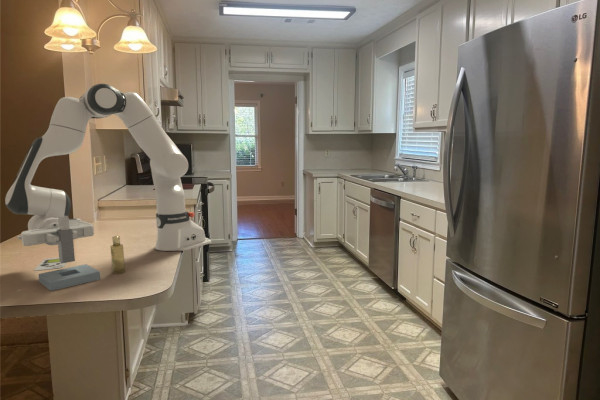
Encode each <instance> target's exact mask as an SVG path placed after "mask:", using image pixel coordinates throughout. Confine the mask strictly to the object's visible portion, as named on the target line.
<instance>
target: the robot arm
mask: <svg viewBox="0 0 600 400" xmlns="http://www.w3.org/2000/svg"><path fill="white" fill-rule="evenodd" d="M112 115H115V116H116V117H118V118H119V119H120V120H121V121H122V122H123V124H124V126H125V127H126V128H127V130H128V132H129V133H130V134H131V136H132V138H133V139H134V140H135V142H136V144H137V145H138V146H139V148H140V149H141V150H142V151H143V152H144V153H145V154H146V156H147V157H148V158H149V166H150V172H151V177H152V182H153V186H154V187H153V188H154V192H155V201H156V202H155V205H156V214H155V222H156V230H157V232H156V241H155V246H154V249H155V250H157V251H162V252H167V251H168V252H171V251H174V252H175V251H180V252H182V251H188V250H192V249H196V248H198V247H199V248H200V247H203V246H205V245H209V244H211V243H212V241H211V239H210V238H208V237H206V234H205V230H204V229H203V227H202V226H200V225H199V224H197V223H196V222H194V221H193V220H191V218H194V217H195V216H196V215H195V212H191V211H190V212H188V211H187V210H186V197H185V191H184V188H183V183H182V179H181V178H182V177H184V176H185V174H186V173H187V172H188V170H189V162H188V159H187V158H186V156H185V155H184V154H183V153H182V151H181V150H180V149H179V148H178V146H177V145H176V144H175V143H174V141H173V140H172V139H171V138H170V136H169V135H168V134H167V133H166V131H165V130H164V129H163V126H162V125H161V123H160V122H159V121H158V118H157V117H156V115H155V114H154V112H153V111H152V110H151V108H150V107H149V105H148V104H147V103H146V102H145V100H144V99H143V98H142V97H141V96H140V95H139V94H138V93H136V92H133V91H128V92H124V93H123V92H122V91H120V90H119V89H117V88H116V87H114V86H112V85H110V84H107V83H96V84H95V85H92V86H90V87H89V88H88V89H87V90H86V91H85V93H83V94H82V95H81V96H80V97H79V98H76V97H75V96H74V97H73V96H64V97H61V98H59V100H58V101H57V103H56V105H55V107H54V110H53V111H52V114H51V118H50V122H49V126H48V129H47V131H46V132H45V133H44V134H43V135H42V136H40V137H36V138H35V139H34V140H33V141H32V143H31V145H30V146H29V148H28V151H27V152H26V155H25V157H24V159H23V161H22V163H21V165H20V167H19V170H18V171H17V174H16V176H15V178H14V180H13V182H12V184H11V185H10V188H9V189H8V191H7V193H6V194H5V199H4V201H5V202H4V205H5V206H6V208H7V209H8V210H9V211H10V213H11V212H12V213H13V214H14V215H32V216H31V218H30V219H29V220H28V223H27V228H28V229H27V230H23V231H22V232H21V233H20V234H21V235H17V237H16V239H17V240H21V243H22V245H23V246H24V247H31V246H37V245H43V244H45V245H47V246H58V242H59V241H60V236H59V235H57V229H59V220H58V217H60V216H68V217H69V216H70V214H71V207H72V203H71V198H70V196H69V194H67V192H66V191H65V190H63V189H55V188H48V187H42V186H38V185H37V186H36V185H32V184H31V183H32V182H33V181H32V180H33V179H34V176H35V173H36V171H37V169H38V167H39V164H40V163H41V162H42V161H43V160H44V159H46V158H49V157H55V156H63V155H64V156H65V155H70V154H72V153H74V152H75V153H76V152H77V151H78V150H79V149H80V148H81V147H82V146H83V143H84V140H85V136H86V130H87V126H88V123H89V121H90V120H91V119H103V118H107V117H110V116H112ZM69 228H70V229H72V232H73V240H77V239H80V238H81V239H82V238H88V237H93V236H95V228H94V225H93V224H92V223H90V222H87V221H83V220H81V218H69Z"/></svg>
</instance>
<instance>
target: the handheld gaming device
mask: <svg viewBox="0 0 600 400" xmlns="http://www.w3.org/2000/svg"><path fill="white" fill-rule="evenodd" d="M66 265H67V263H62V262H60V261H59V257H54V258H53V257H51V258H50V257H49V258H43V260H42V261H41V262H40V263H39V264H38V265H37V266H36V267H35V268H34V270H33V271H34V272H36V271H49V270H60V269H64V268H65V266H66Z"/></svg>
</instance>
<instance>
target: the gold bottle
mask: <svg viewBox="0 0 600 400" xmlns="http://www.w3.org/2000/svg"><path fill="white" fill-rule="evenodd" d="M111 239H112V245H110V255H111V256H110V257H111V269H112V274H114V275H120V274H123V273H125V272H126V265H125V252H124V251H125V250H124V244H122V243H121V237H120V235H114V236H112V238H111Z"/></svg>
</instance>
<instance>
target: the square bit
mask: <svg viewBox="0 0 600 400" xmlns="http://www.w3.org/2000/svg"><path fill="white" fill-rule="evenodd" d="M69 219H70V218H69V216H60V217H58V220H59V229H57V235H59V236H60V241H59V242H58V245H57V248H58V258H59V261H60V262H62V263H66V264H67V263H73V262H75V261H76V258H75V256H76V255H75V248H74V247H75V245H74V239H73V232H72V229H70V228H69Z"/></svg>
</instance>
